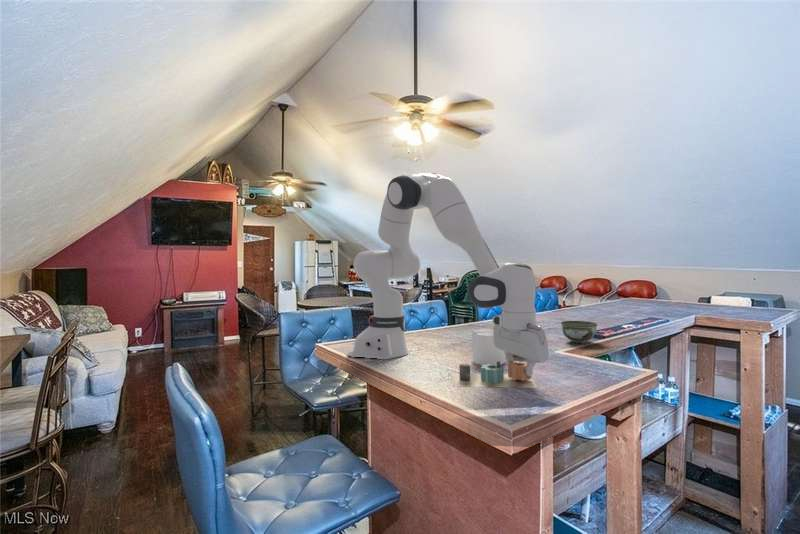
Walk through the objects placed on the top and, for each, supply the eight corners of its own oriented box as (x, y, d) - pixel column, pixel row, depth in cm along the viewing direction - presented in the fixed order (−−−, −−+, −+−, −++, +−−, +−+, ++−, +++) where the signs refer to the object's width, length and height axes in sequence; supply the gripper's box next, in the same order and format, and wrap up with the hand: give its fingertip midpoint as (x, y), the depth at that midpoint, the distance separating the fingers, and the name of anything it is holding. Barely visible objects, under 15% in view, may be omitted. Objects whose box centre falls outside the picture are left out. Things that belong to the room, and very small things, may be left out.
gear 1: (484, 383, 105) (483, 365, 105) (478, 376, 111) (478, 359, 111) (506, 383, 105) (506, 364, 105) (499, 376, 111) (499, 358, 111)
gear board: (452, 390, 104) (452, 371, 103) (452, 377, 115) (451, 359, 115) (538, 392, 101) (537, 372, 101) (528, 378, 113) (528, 360, 113)
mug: (464, 359, 135) (464, 329, 135) (492, 357, 137) (491, 327, 137) (480, 370, 122) (479, 336, 122) (510, 368, 124) (509, 334, 124)
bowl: (595, 347, 149) (595, 326, 148) (558, 344, 156) (558, 324, 156) (598, 340, 160) (598, 321, 160) (563, 338, 167) (563, 319, 167)
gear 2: (511, 380, 104) (511, 367, 104) (505, 373, 110) (505, 361, 110) (535, 380, 104) (534, 366, 104) (527, 373, 110) (527, 360, 110)
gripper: (554, 326, 98) (555, 380, 98) (507, 315, 118) (507, 361, 118) (533, 328, 96) (534, 383, 96) (489, 317, 115) (489, 363, 116)
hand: (519, 371), depth 107 cm, fingers closed on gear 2, 6 cm apart
